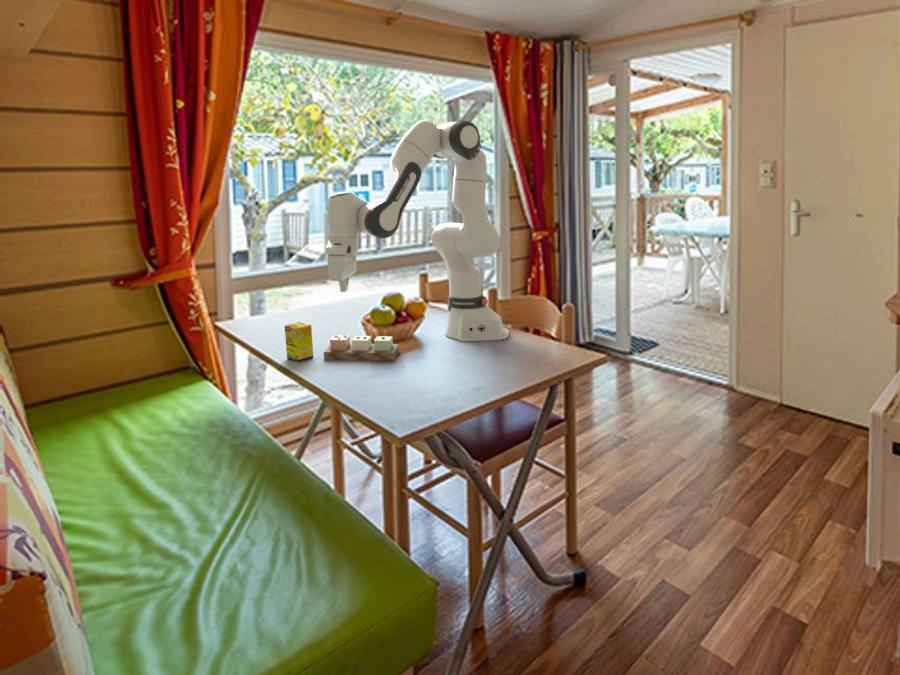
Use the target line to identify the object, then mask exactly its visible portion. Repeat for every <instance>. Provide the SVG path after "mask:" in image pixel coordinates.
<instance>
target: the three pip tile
mask: <svg viewBox="0 0 900 675" xmlns="http://www.w3.org/2000/svg"><path fill="white" fill-rule="evenodd" d="M350 336H351V335H333V336H332V337H331V338H330V339H329V346H330V348H331V350H348V349H349V347H350V343H351V341H350V340H351V338H350Z"/></svg>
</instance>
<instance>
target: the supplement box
mask: <svg viewBox="0 0 900 675" xmlns="http://www.w3.org/2000/svg"><path fill="white" fill-rule="evenodd" d="M312 332H313V331H312V325H311V324H309V323H303V322H301V321H297V322H294V323H293V322H292V323H289V324H286V325H284V337H285V347H286V348H285V349H286V359H287V360H291V361H293V362H294V361H295V362H298V363H301V362H304V361H307V360H310V359H313V358H314V345H313V333H312Z"/></svg>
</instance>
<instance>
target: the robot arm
mask: <svg viewBox="0 0 900 675" xmlns="http://www.w3.org/2000/svg"><path fill="white" fill-rule="evenodd" d="M481 147H482V145H481V136H480V132H479V128H478V127H477V125H476V124H474V123H473V122H471V121H470V120H469V121H468V120H458V121H456V120H455V121H449V122H446V123H444V124H441V125H440V124H439V125H435V124H434V123H433V122H431V121H429V120H425V119H423V120H419V121H417V122H416V123H415V124H413V126H412V127H411V128H410V129H409V130H408V131H407V132H406V133H405V134H404V136H403V137H402V138H401V140H400V141H399V143H397V145H396V147H395V148H394V150H393V152H392V153H391V154H392V155H391V156H390V165H391V168H392V169H393V171H394V173H395V174H396V179H395V181H394V183H393V185H392V187H391V188H390V190H389V191H388V194H387V195H386V197H385V198H384V199H383V200H382V201H380V202H377V203H372V202H369V201H367V200H365V199H363V198H361V197H359V196H358V195H357V194H356V193H355V192H353V191H350V190H349V191H339V192H335V193H333V194H331V195H330V196H329V197H328V202H327V211H326V212H327V218H326V219H327V225H328V233H327V245H326V246H325V249H324V250H325V255H326V256H327V268H328V269H327V271H328V277H329V281H333V282H335V281H336V282H338V284H339V289H340V290H339V291H340V293H346V292H347V291H348V290H349V283H350V276H352V275H354V274H356V273H357V269H358V268H357V266H358V265H357V253H358V251H359V250H358V242H359V241H358V234H359V233H361V234H364V235H368V236H372V237H376V238H377V239H388V238H390V237H392V236H393V235H394V234H395V233H396V232H398V229H399V226H400V223H401V218H402V215H403V214H404V210H405V208H406V207H407V204H408V203H409V201H410V199H411V198H412V196H413V194H414V192H415V190H416V189H417V186H418V185H419V182H420V181H421V178H422V174H423V172H424V171H425V169H426V167H427V166H428V165H429V163H430V162H431V160H432V158H433V157H435V158H437V159H452V161H453V165H454V173H453V182H452V183H453V184H452V194H451V196H452V197H451V203H452V206H453V208H455V209H456V210H457V211H459V213H460V215H461V217H462V218H461V219H462V223H461V222H445V223H442V224H441V223H440V224H438V225H436V227H435V228H434V230H433V231H432V234H431V243H432V246H433V248H434V249H435V250H436V251H437V252H438V253H439V254H440V256H441V257H442V260H443V262H444V263H445V267H446V269H447V272H448V273H447V274H448V284H449V285H448V288H449V290H448V291H449V295H448V298H447V309H448V320H447V325H446V326H447V327H446V330H445V334H444V335H445V336H446V337H447V338H450V339H455V340H458V341H460V342H482V341H483V342H484V341H485V342H486V341H487V342H488V341H503V340H502V339H504V340H506V339H508V338H509V337H510V332H509V330H508V329H507V328H505V327H504V325H503V321H502V320H503V319H502V317H501V316H500V315H499V314H498V313H496V311H494V310H493V309H492V308H490V307H489V306H488V305H487V304H489V301H488V299H487V296H486V295H482V275H481V272H480V270H479V269H478V268H476V266H474V264H473V263H472V262H471V259H470V257H471V258H473V257H474V258H485V257H491V256H493V255H495V254H496V252H497V250H498V249H499V247H500V243H501V242H500V235H499V232H498V231H497V228H495V227H494V226H493V225H492V224H491V222H490V220H489V218H488V214H487V210H486V190H487V188H486V187H487V177H488V176H487V174H488V172H487V168H488V167H487V158H486V154H485V152H483V151H482V149H481ZM507 337H508V338H507ZM505 338H506V339H505Z"/></svg>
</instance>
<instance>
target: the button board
mask: <svg viewBox="0 0 900 675" xmlns="http://www.w3.org/2000/svg"><path fill="white" fill-rule="evenodd" d="M399 353H400V344H399V343H398V344H397V343H393V349H392V350H391V351H374V343H371V349H370V350H369V351H352V342H350V347H349V349H348V350H331V348H330V345H329V346H328V347H327V348H326V349H324V351H323V360H324V361H369V362H371V361H372V362H376V361H377V362H394V361H395V360H396V357H397V356H398V355H399Z"/></svg>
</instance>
